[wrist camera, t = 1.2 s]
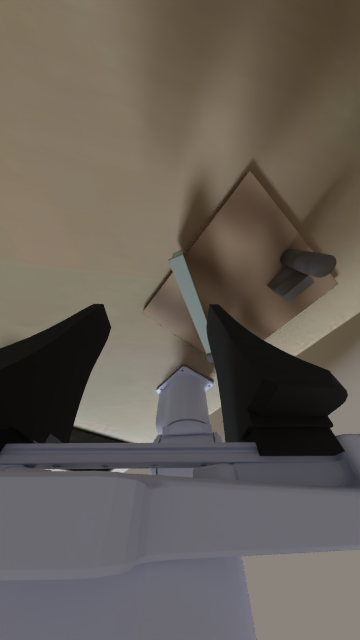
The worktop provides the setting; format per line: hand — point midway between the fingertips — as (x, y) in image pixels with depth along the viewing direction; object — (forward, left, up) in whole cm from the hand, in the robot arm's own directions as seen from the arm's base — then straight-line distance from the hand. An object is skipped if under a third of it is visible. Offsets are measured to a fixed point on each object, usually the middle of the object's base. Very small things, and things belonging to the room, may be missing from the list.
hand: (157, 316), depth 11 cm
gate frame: (+3, -9, -12) cm, 15 cm away
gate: (0, -4, -11) cm, 11 cm away
